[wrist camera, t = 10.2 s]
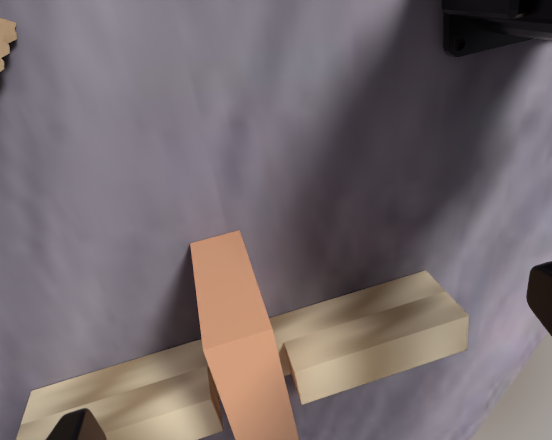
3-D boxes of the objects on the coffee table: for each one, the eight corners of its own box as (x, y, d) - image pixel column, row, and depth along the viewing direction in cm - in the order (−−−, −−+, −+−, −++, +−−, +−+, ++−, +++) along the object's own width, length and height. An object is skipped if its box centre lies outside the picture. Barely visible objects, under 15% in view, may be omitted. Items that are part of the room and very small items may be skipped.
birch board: (425, 270, 25) (468, 315, 21) (426, 301, 26) (466, 350, 22) (31, 390, 22) (7, 464, 19) (51, 419, 23) (33, 494, 20)
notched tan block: (286, 413, 28) (321, 531, 22) (249, 425, 27) (275, 548, 21) (239, 230, 21) (272, 329, 15) (190, 243, 20) (203, 350, 14)
